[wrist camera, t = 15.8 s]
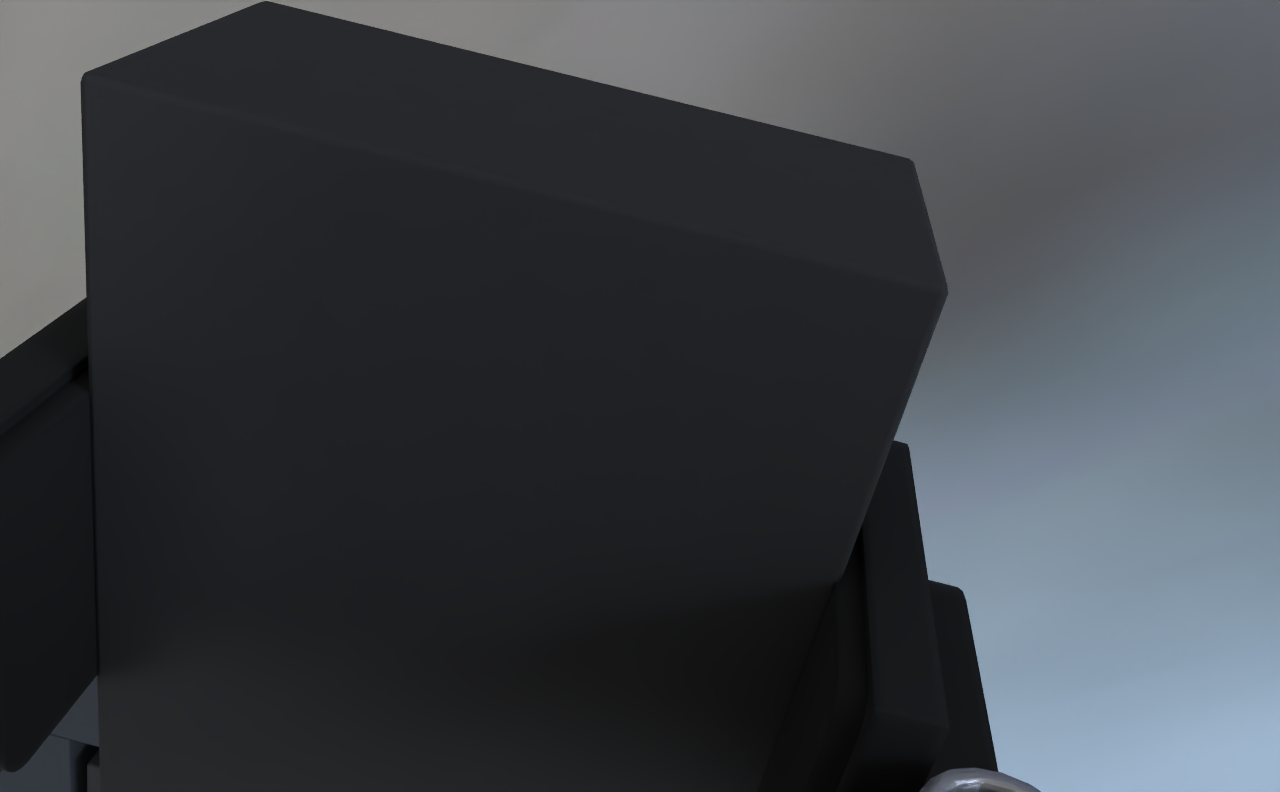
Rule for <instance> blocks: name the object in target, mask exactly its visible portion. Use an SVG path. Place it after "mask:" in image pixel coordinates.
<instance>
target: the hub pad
mask: <svg viewBox="0 0 1280 792" xmlns="http://www.w3.org/2000/svg"><path fill="white" fill-rule="evenodd" d="M98 750H99V723H98V687H97V676H96V677H95V678H94V680H93V681H92V682H91V683H90V685H89V686H88V687H87V689H86V690H85V691H84V692H83V694H82V695H81V696H80V697H79V699H78V700H77V701H76V702H75V704H74V705H73V706H72V707H71V709H70V710H69V711H68V712H67V714H66V715H65V716H64V717H63V719H62V720H61V721H60V722H59V724H58V725H57V726H56V727H55V729H54V730H53V731H52V732H51V734H50V735H49V736H48V737H47V739H46V740H45V741H44V742H43V744H42V745H41V746H40V747H39V749H38V750H37V751H36V752H35V754H34V755H33V756H32V757H31V759H30V760H29V761H28V762H27V763H26V764H25V765H24V766H23V767H22V768H21V769H19V770H18V771H16V772H7V771H3V770H2V771H1V772H0V792H87V764H88V763H89V762H90V760H91V759H92V758H93V756H94V755H95V754H96V752H97V751H98Z"/></svg>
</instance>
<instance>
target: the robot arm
mask: <svg viewBox="0 0 1280 792" xmlns="http://www.w3.org/2000/svg"><path fill="white" fill-rule="evenodd" d="M96 676H97V645H96V609H95V574H94V538H93V502H92V466H91V430H90V394H89V364H88V328H87V297H86V298H85V299H84V300H82V301H81V302H79V303H78V304H77V305H75V306H74V307H72V308H71V309H70V310H68V311H67V312H65V313H64V314H63V315H61V316H60V317H58V318H57V319H56V320H54V321H53V322H51V323H50V324H49V325H47V326H46V327H44V328H43V329H42V330H40V331H39V332H37V333H36V334H35V335H33V336H32V337H30V338H29V339H28V340H26V341H25V342H23V343H22V344H20V345H19V346H18V347H16V348H15V349H13V350H12V351H11V352H9V353H8V354H6V355H5V356H4V357H2V358H1V359H0V772H1V771H2V770H3V771H7V772H16V771H18V770H19V769H21V768H22V767H23V766H24V765H25V764H26V763H27V762H28V761H29V760H30V759H31V757H32V756H33V755H34V754H35V752H36V751H37V750H38V749H39V747H40V746H41V745H42V744H43V742H44V741H45V740H46V739H47V737H48V736H49V735H50V734H51V732H52V731H53V730H54V729H55V727H56V726H57V725H58V724H59V722H60V721H61V720H62V719H63V717H64V716H65V715H66V714H67V712H68V711H69V710H70V709H71V707H72V706H73V705H74V704H75V702H76V701H77V700H78V699H79V697H80V696H81V695H82V694H83V692H84V691H85V690H86V689H87V687H88V686H89V685H90V683H91V682H92V681H93V680H94V678H95V677H96ZM758 792H1041V791H1039V790H1038V789H1036V788H1035V787H1033V786H1032V785H1030V784H1028V783H1025V782H1023V781H1020V780H1018V779H1016V778H1013V777H1011V776H1008V775H1006V774H1004V773H1001V772H998V768H997V762H996V757H995V752H994V746H993V741H992V736H991V730H990V725H989V720H988V714H987V709H986V704H985V698H984V693H983V688H982V683H981V677H980V672H979V667H978V661H977V656H976V651H975V645H974V640H973V635H972V629H971V624H970V619H969V613H968V608H967V603H966V599H965V596H964V594H963V591H962V590H960V589H959V588H958V587H954V586H950V585H947V584H943V583H939V582H935V581H931V580H928V575H927V568H926V561H925V554H924V548H923V541H922V534H921V527H920V520H919V513H918V506H917V499H916V493H915V486H914V479H913V472H912V465H911V458H910V451H909V447H908V444H905V443H902V442H898V441H894V440H893V442H892V445H891V448H890V450H889V453H888V456H887V458H886V461H885V464H884V466H883V469H882V472H881V474H880V477H879V480H878V482H877V485H876V488H875V491H874V493H873V496H872V499H871V501H870V504H869V507H868V509H867V512H866V515H865V517H864V520H863V523H862V525H861V528H860V531H859V533H858V536H857V539H856V541H855V544H854V547H853V550H852V552H851V555H850V558H849V560H848V563H847V566H846V568H845V571H844V574H843V576H842V579H841V580H840V582H835V585H834V588H833V590H832V593H831V596H830V598H829V601H828V604H827V606H826V609H825V612H824V615H823V617H822V620H821V623H820V625H819V628H818V631H817V633H816V636H815V639H814V642H813V644H812V647H811V650H810V652H809V655H808V658H807V660H806V663H805V666H804V669H803V671H802V674H801V677H800V679H799V682H798V685H797V688H796V690H795V693H794V696H793V698H792V701H791V704H790V706H789V709H788V712H787V715H786V717H785V720H784V723H783V725H782V728H781V731H780V733H779V736H778V739H777V742H776V744H775V747H774V750H773V752H772V755H771V758H770V760H769V763H768V766H767V769H766V771H765V774H764V777H763V779H762V782H761V785H760V787H759V790H758Z"/></svg>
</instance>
